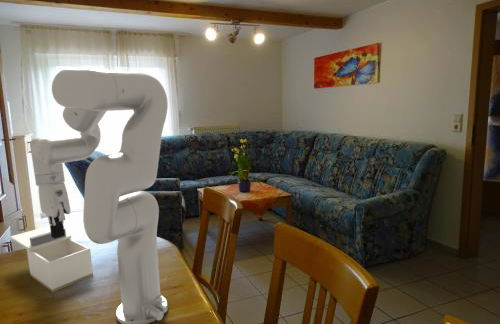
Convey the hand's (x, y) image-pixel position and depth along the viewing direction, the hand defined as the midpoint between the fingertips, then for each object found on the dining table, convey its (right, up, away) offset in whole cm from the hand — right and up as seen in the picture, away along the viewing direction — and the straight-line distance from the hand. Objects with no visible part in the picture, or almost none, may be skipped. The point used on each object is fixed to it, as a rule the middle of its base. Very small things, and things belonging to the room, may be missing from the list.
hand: (58, 236), depth 104 cm
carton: (0, -13, +3) cm, 13 cm away
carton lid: (-11, -3, +9) cm, 14 cm away
